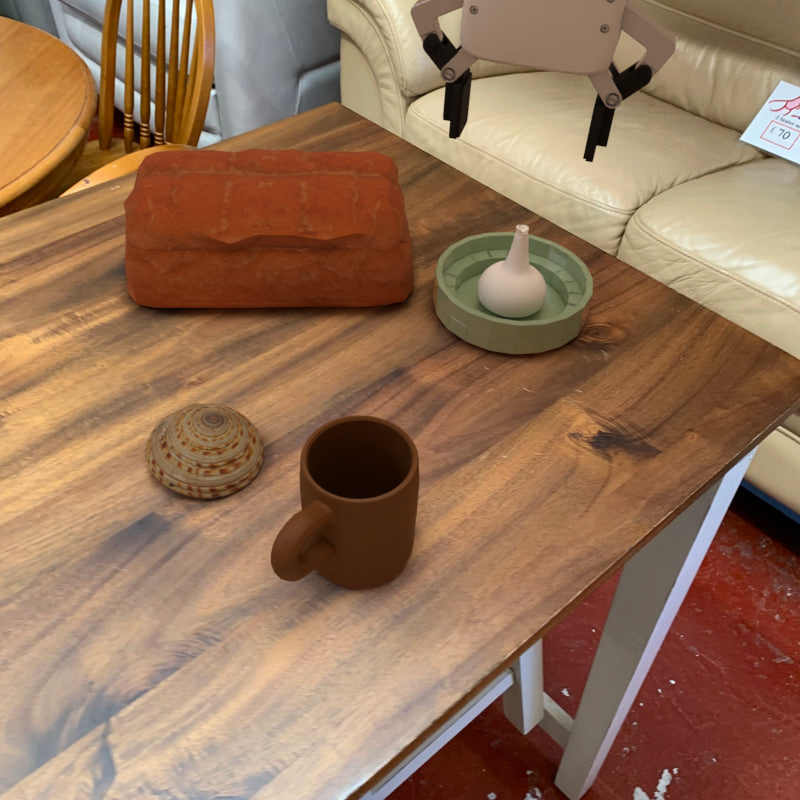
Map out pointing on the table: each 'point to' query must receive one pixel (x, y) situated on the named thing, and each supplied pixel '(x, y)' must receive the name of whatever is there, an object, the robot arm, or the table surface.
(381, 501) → the mug
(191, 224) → the bread
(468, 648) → the table surface
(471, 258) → the bowl
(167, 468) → the seashell
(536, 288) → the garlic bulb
